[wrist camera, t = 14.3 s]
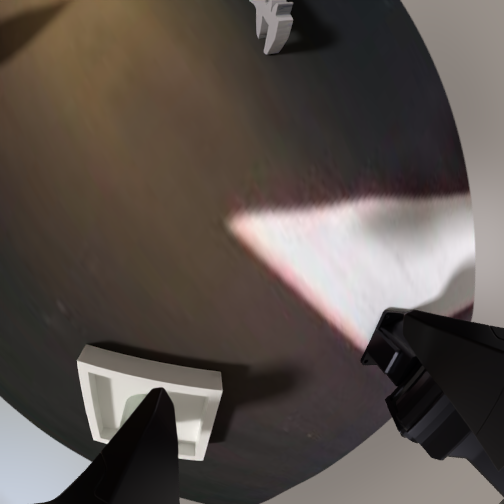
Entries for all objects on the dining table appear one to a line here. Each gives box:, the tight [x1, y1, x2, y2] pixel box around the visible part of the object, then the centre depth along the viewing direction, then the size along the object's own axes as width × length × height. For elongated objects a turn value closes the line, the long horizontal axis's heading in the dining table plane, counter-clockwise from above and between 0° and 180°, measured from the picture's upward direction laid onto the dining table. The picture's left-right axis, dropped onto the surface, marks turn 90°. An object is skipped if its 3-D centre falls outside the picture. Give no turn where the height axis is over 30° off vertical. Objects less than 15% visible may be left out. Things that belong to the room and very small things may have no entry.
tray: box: [77, 344, 223, 461], centre depth 23 cm, size 13×13×3 cm
